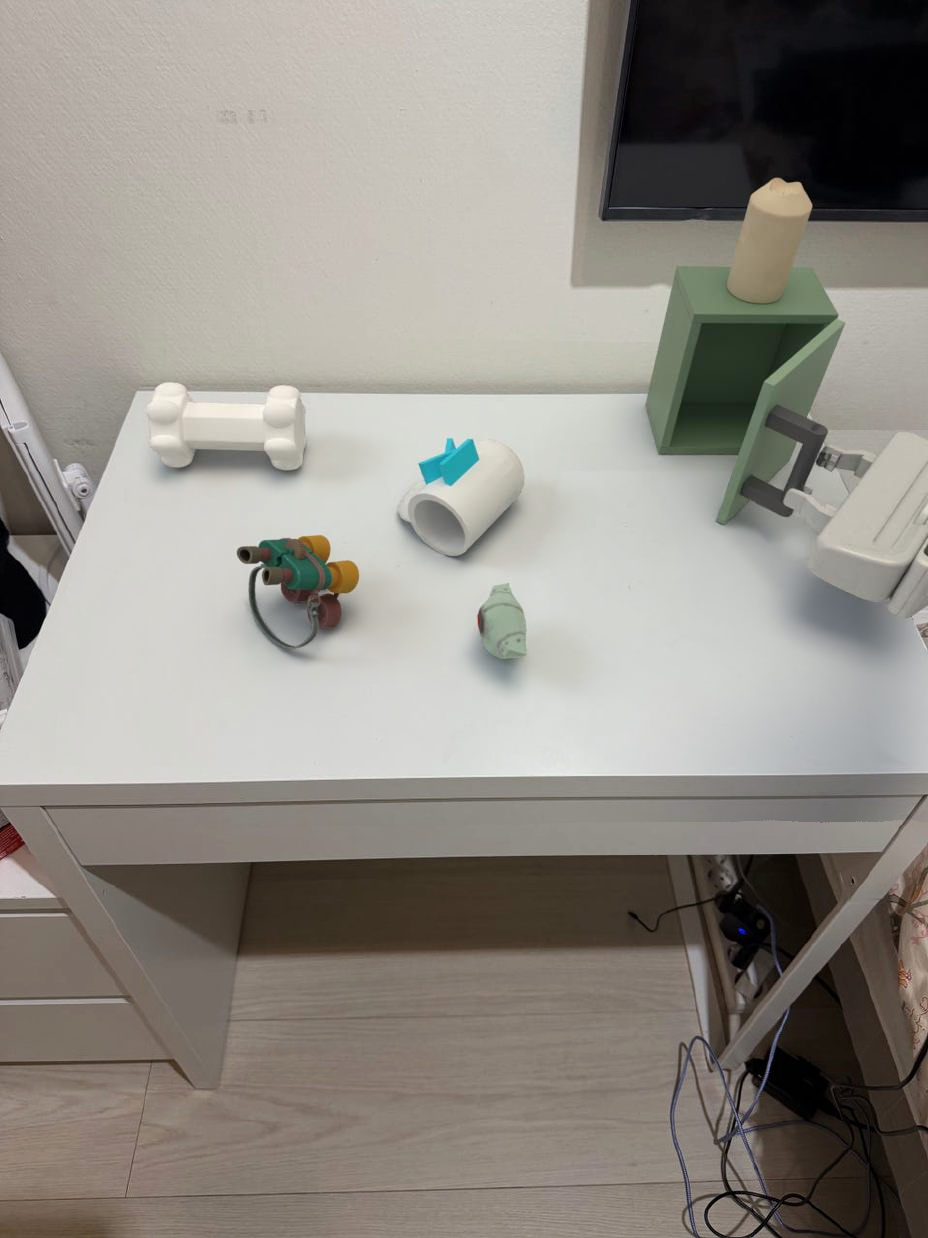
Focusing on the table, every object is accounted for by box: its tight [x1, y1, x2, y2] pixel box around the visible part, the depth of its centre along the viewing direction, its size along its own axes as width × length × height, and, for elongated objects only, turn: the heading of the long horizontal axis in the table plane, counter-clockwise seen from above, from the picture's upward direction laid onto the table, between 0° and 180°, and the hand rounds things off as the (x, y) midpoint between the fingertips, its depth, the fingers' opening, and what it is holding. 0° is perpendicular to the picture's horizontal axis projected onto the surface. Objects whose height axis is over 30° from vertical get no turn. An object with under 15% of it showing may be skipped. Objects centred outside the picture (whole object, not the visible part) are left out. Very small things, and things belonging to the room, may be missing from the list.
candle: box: [727, 177, 813, 304], centre depth 79 cm, size 6×6×10 cm
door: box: [715, 318, 847, 526], centre depth 82 cm, size 6×14×17 cm, turn 138°
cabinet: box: [644, 265, 840, 455], centre depth 90 cm, size 9×14×17 cm, turn 92°
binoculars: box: [236, 534, 360, 650], centre depth 73 cm, size 9×9×10 cm
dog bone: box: [145, 381, 308, 471], centre depth 88 cm, size 15×9×8 cm, turn 89°
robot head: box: [476, 582, 528, 660], centre depth 73 cm, size 8×4×7 cm, turn 9°
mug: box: [397, 437, 525, 557], centre depth 84 cm, size 12×9×12 cm
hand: (804, 472), depth 79 cm, fingers open, 6 cm apart
